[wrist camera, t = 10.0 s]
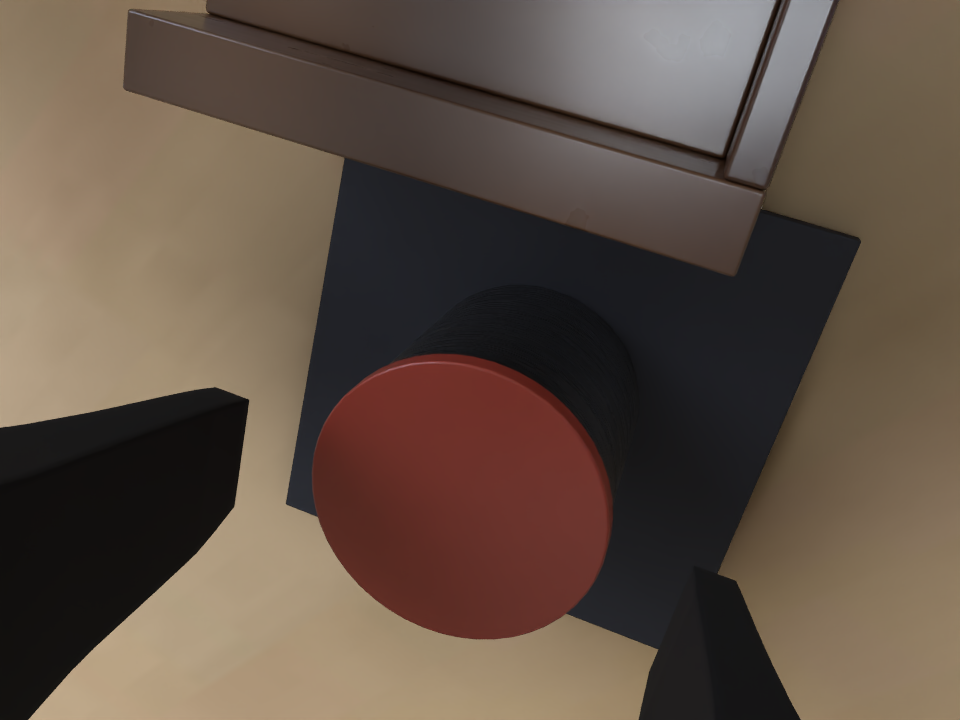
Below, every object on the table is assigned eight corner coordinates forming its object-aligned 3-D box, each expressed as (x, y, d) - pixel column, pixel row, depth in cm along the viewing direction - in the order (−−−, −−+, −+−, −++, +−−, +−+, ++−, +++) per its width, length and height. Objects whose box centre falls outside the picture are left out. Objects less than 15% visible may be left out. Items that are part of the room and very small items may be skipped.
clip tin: (677, 323, 17) (653, 427, 12) (603, 530, 19) (559, 684, 14) (441, 248, 18) (337, 318, 13) (395, 453, 20) (291, 575, 15)
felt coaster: (860, 237, 16) (861, 241, 15) (681, 650, 19) (680, 658, 19) (360, 91, 17) (355, 93, 17) (290, 498, 21) (285, 504, 21)
